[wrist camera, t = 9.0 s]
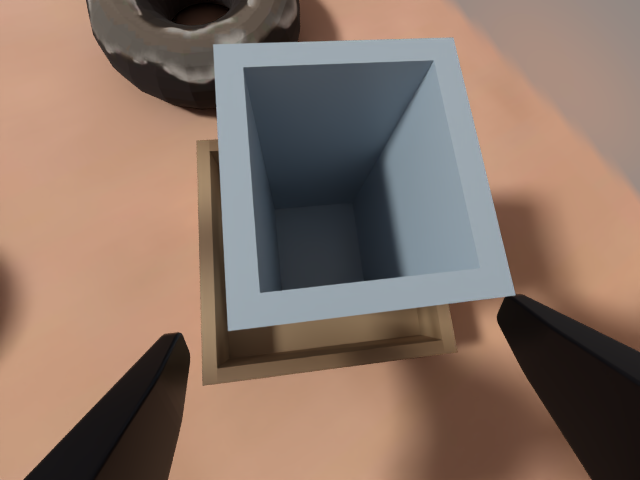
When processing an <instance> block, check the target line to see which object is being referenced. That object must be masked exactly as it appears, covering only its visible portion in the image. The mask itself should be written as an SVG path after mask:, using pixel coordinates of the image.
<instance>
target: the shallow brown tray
mask: <svg viewBox="0 0 640 480" xmlns="http://www.w3.org/2000/svg"><path fill="white" fill-rule="evenodd" d="M197 179H198V219H199V259H200V300H201V340H202V381H203V386H205V385H212V384H220V383H228V382H235V381H243V380H251V379H258V378H266V377H273V376H281V375H289V374H296V373H304V372H312V371H319V370H327V369H334V368H342V367H350V366H357V365H365V364H373V363H380V362H388V361H395V360H403V359H411V358H418V357H426V356H433V355H441V354H449V353H456V352H458V351H457V346H456V341H455V335H454V330H453V325H452V319H451V314H450V309H449V304H442V305H434V306H426V307H418V308H410V309H402V310H394V311H386V312H378V313H370V314H362V315H354V316H346V317H338V318H330V319H322V320H314V321H306V322H298V323H290V324H282V325H274V326H266V327H258V328H250V329H241V330H233V331H228V322H227V302H226V283H225V264H224V244H223V225H222V206H221V187H220V167H219V148H218V140H200V141H197Z"/></svg>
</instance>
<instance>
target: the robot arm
mask: <svg viewBox="0 0 640 480" xmlns="http://www.w3.org/2000/svg"><path fill="white" fill-rule="evenodd" d="M497 321H498V324H499V326H500V328H501V330H502V332H503V334H504V336H505V338H506V340H507V342H508V344H509V346H510V347H511V349H512V351H513V353H514V355H515V357H516V359H517V361H518V363H519V365H520V367H521V369H522V370H523V372H524V374H525V376H526V377H527V379H528V381H529V382H530V384H531V385H532V387H533V388H534V390H535V392H536V393H537V395H538V396H539V398H540V399H541V401H542V402H543V404H544V406H545V407H546V409H547V410H548V412H549V413H550V415H551V417H552V418H553V420H554V421H555V423H556V424H557V426H558V428H559V429H560V431H561V432H562V434H563V435H564V437H565V439H566V440H567V442H568V443H569V445H570V446H571V448H572V449H573V451H574V453H575V454H576V456H577V457H578V459H579V460H580V462H581V464H582V465H583V467H584V468H585V470H586V471H587V473H588V475H589V476H590V478H591V479H592V480H640V352H638V351H636V350H634V349H632V348H630V347H628V346H626V345H624V344H622V343H620V342H618V341H616V340H614V339H612V338H610V337H608V336H606V335H604V334H602V333H600V332H598V331H596V330H594V329H592V328H590V327H588V326H586V325H584V324H582V323H580V322H578V321H575V320H573V319H571V318H569V317H567V316H565V315H563V314H561V313H559V312H557V311H555V310H553V309H551V308H549V307H547V306H545V305H543V304H541V303H539V302H537V301H535V300H533V299H531V298H529V297H527V296H525V295H522V294H515V296H507V297H505V298H504V300H503V302H502V305H501V307H500V309H499V312H498V314H497ZM189 365H190V353H189V350H188V347H187V345H186V342H185V340H184V337H183V335H182V334H181V333H179V332H177V333H168V334H164V335H163V336H161V337H160V338H159V339H158V340H157V341H156V342H155V343H154V344H153V345H152V347H151V348H150V349H149V350H148V351H147V352H146V353H145V354H144V355H143V356H142V357H141V358H140V359H139V360H138V361H137V362H136V363H135V364H134V365H133V366H132V367H131V368H130V369H129V370H128V371H127V373H126V374H125V375H124V376H123V377H122V378H121V379H120V380H119V381H118V382H117V383H116V384H115V385H114V386H113V387H112V388H111V389H110V390H109V391H108V392H107V393H106V394H105V395H104V396H103V397H102V399H101V400H100V401H99V402H98V403H97V404H96V405H95V406H94V407H93V408H92V409H91V410H90V411H89V412H88V413H87V414H86V415H85V416H84V417H83V418H82V419H81V420H80V421H79V422H78V423H77V424H76V426H75V427H74V428H73V429H72V430H71V431H70V432H69V433H68V434H67V435H66V436H65V437H64V438H63V439H62V440H61V441H60V442H59V443H58V444H57V445H56V446H55V447H54V448H53V449H52V450H51V452H50V453H49V454H48V455H47V456H46V457H45V458H44V459H43V460H42V461H41V462H40V463H39V464H38V465H37V466H36V467H35V468H34V469H33V470H32V471H31V472H30V473H29V474H28V475H27V476H26V478H25V479H24V480H168V477H169V473H170V469H171V465H172V461H173V457H174V452H175V448H176V444H177V440H178V436H179V432H180V427H181V423H182V417H183V410H184V403H185V395H186V388H187V380H188V373H189Z"/></svg>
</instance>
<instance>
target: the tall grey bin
mask: <svg viewBox="0 0 640 480" xmlns="http://www.w3.org/2000/svg"><path fill="white" fill-rule="evenodd" d="M213 52H214V71H215V90H216V110H217V129H218V148H219V167H220V187H221V206H222V225H223V244H224V264H225V283H226V302H227V322H228V331H233V330H241V329H250V328H258V327H266V326H274V325H282V324H290V323H298V322H306V321H314V320H322V319H330V318H338V317H346V316H354V315H362V314H370V313H378V312H386V311H394V310H402V309H410V308H418V307H426V306H434V305H442V304H450V303H458V302H466V301H474V300H482V299H490V298H498V297H507V296H515V291H514V286H513V282H512V278H511V274H510V270H509V266H508V262H507V258H506V253H505V249H504V245H503V241H502V237H501V233H500V229H499V225H498V220H497V216H496V212H495V208H494V204H493V200H492V196H491V191H490V187H489V183H488V179H487V175H486V171H485V167H484V163H483V158H482V154H481V150H480V146H479V142H478V138H477V134H476V130H475V125H474V121H473V117H472V113H471V109H470V105H469V101H468V96H467V92H466V88H465V84H464V80H463V76H462V72H461V68H460V63H459V59H458V55H457V51H456V47H455V43H454V39H453V38H421V39H386V40H351V41H315V42H280V43H245V44H213Z"/></svg>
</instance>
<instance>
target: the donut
mask: <svg viewBox="0 0 640 480" xmlns="http://www.w3.org/2000/svg"><path fill="white" fill-rule="evenodd" d="M86 2H87V8H88V13H89V18H90V22H91V27H92V31H93V35H94V37H95V39H96V41H97V42H98V44H99V46H100V47H101V49H102V50H103V52H104V54H105V55H106V57H107V58H108V60H109V61H110V63H111V64H112V66H113V67H114V68H115V69H116V70H117V71H118V72H119V73H120V74H121V75H122V76H124V77H125V78H126V79H127V80H129V81H130V82H131V83H132V84H134V85H135V86H136V87H137V88H138V89H140V90H141V91H142V92H145V93H147V94H149V95H152V96H154V97H157V98H159V99H161V100H164V101H166V102H168V103H171V104H173V105H178V106H185V107H192V108H199V109H206V108H216V90H215V71H214V52H213V44H245V43H280V42H297V40H298V37H299V32H300V7H299V0H86ZM197 3H214V4H220V5H222V6H225V7H227V8H229V9H230V10H229V11H228V12H227V13H226V15H224V16H222V17H221V18H219V19H218V20H216V21H214V22H210V23H207V24H204V25H194V26H188V25H182V24H176V23H174V22H171V20H172V19H173V18H174V16H175V15H176V14H177V13H178V12H179V11H181V10H183V9H184V8H186V7H187V6H191V5H194V4H197Z"/></svg>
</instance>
